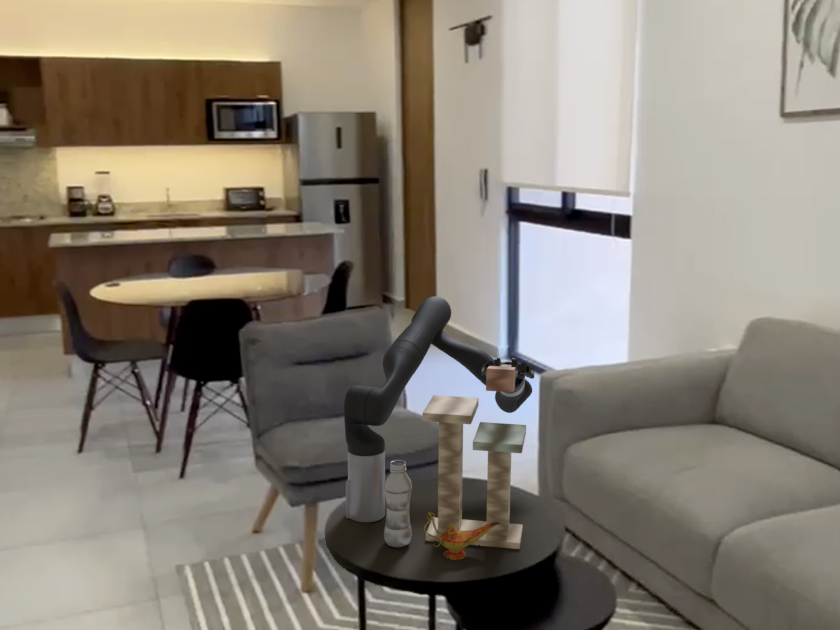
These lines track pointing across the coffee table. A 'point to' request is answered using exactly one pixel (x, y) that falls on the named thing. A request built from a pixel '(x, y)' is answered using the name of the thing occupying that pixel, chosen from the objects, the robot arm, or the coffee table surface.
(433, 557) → the coffee table surface
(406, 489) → the plastic bottle
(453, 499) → the stepped stand
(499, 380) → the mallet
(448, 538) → the magic lamp
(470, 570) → the coffee table surface
